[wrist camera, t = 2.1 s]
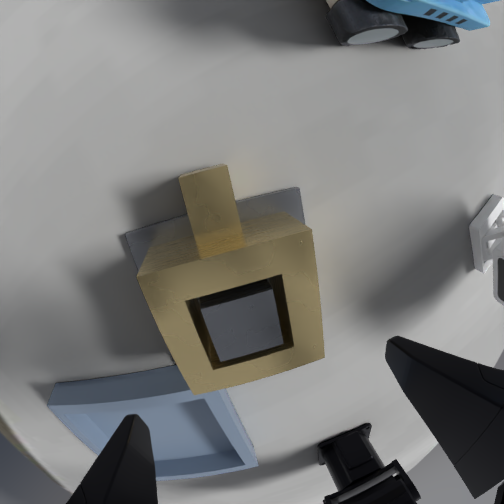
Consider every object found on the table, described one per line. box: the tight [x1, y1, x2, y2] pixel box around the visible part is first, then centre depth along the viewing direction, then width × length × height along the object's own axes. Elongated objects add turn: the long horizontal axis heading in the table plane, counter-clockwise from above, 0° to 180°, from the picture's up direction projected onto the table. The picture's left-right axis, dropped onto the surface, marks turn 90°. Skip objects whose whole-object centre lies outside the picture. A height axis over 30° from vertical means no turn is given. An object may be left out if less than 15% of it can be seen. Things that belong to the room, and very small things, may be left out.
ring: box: [136, 164, 325, 395], centre depth 13 cm, size 10×7×4 cm
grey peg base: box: [125, 187, 305, 362], centre depth 13 cm, size 9×9×4 cm
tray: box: [47, 365, 259, 481], centre depth 17 cm, size 13×13×2 cm
